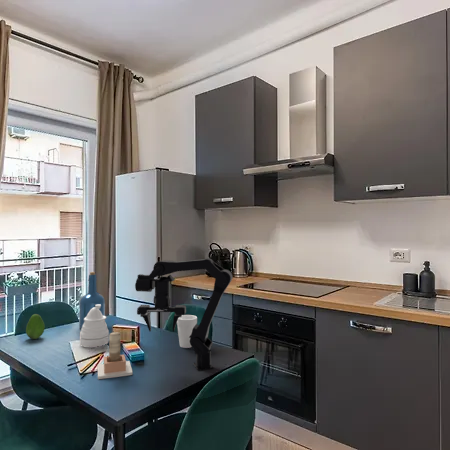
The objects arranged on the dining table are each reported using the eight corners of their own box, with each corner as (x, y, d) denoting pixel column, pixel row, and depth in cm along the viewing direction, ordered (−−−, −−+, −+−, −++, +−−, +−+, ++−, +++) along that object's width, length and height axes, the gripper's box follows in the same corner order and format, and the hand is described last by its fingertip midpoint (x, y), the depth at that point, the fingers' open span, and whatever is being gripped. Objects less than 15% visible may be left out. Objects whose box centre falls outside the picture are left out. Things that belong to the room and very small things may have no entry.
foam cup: (198, 342, 171) (198, 315, 171) (195, 349, 162) (195, 320, 162) (178, 342, 172) (179, 314, 172) (174, 348, 163) (174, 319, 163)
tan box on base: (132, 374, 133) (132, 362, 134) (97, 379, 129) (98, 366, 129) (129, 363, 145) (129, 352, 145) (97, 367, 141) (97, 355, 141)
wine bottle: (102, 330, 191) (102, 273, 192) (76, 331, 190) (76, 273, 190) (107, 323, 205) (107, 270, 205) (82, 324, 203) (83, 270, 203)
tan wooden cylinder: (120, 369, 136) (120, 334, 136) (109, 370, 135) (109, 335, 135) (119, 365, 140) (120, 331, 140) (108, 367, 138) (109, 332, 138)
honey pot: (114, 340, 174) (114, 303, 174) (96, 348, 162) (96, 308, 162) (92, 337, 179) (92, 301, 179) (73, 345, 166) (73, 306, 167)
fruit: (35, 341, 171) (35, 316, 171) (22, 340, 174) (22, 315, 174) (48, 337, 179) (48, 312, 179) (35, 335, 181) (35, 311, 181)
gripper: (187, 288, 153) (187, 326, 152) (143, 288, 152) (142, 325, 152) (184, 293, 141) (184, 333, 141) (136, 293, 141) (136, 333, 141)
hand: (161, 331), depth 144 cm, fingers open, 9 cm apart
